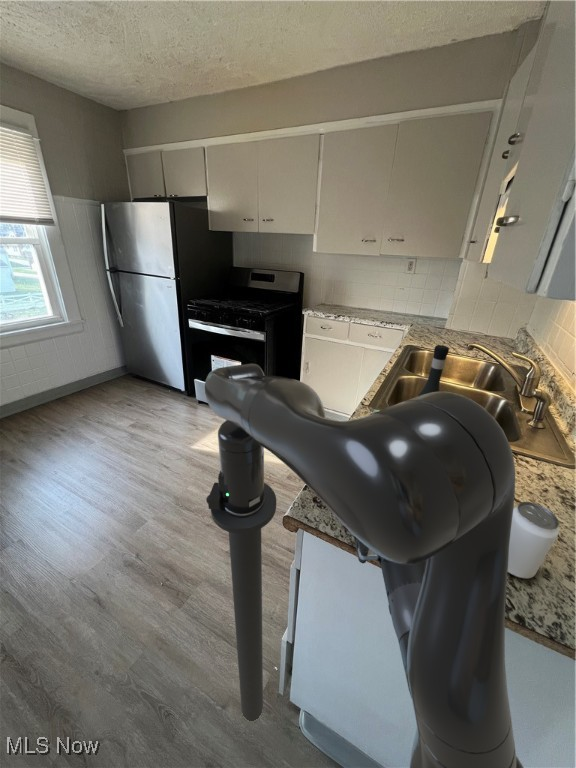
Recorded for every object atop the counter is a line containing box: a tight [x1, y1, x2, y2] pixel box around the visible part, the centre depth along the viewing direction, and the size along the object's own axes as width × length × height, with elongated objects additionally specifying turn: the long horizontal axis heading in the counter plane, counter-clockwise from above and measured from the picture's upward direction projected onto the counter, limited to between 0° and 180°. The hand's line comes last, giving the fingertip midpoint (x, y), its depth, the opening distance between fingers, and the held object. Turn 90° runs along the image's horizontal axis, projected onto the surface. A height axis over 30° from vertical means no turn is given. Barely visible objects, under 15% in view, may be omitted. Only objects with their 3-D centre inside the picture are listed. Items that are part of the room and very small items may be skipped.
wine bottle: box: [417, 344, 450, 396], centre depth 80 cm, size 8×8×30 cm
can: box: [507, 501, 560, 579], centre depth 54 cm, size 6×6×12 cm
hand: (390, 507), depth 56 cm, fingers open, 8 cm apart
